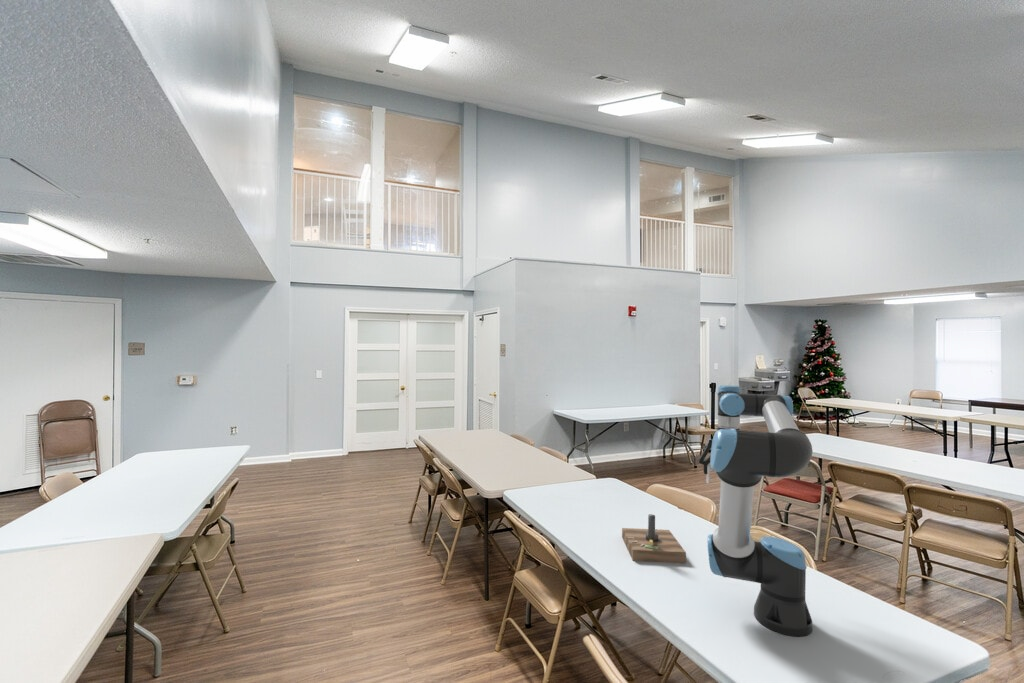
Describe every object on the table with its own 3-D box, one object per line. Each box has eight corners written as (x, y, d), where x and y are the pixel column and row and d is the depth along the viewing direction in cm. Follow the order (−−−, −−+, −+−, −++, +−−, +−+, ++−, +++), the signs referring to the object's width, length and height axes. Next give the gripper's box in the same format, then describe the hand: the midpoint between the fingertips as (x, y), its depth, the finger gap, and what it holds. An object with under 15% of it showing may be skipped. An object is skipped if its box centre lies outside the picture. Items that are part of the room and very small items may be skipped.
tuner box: (685, 562, 174) (685, 551, 174) (632, 560, 175) (632, 549, 175) (669, 539, 196) (669, 529, 196) (621, 537, 197) (622, 527, 197)
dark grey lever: (658, 537, 187) (658, 509, 187) (657, 549, 176) (658, 519, 176) (645, 535, 189) (646, 507, 189) (644, 547, 177) (644, 517, 177)
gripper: (764, 428, 168) (763, 486, 167) (691, 423, 176) (691, 478, 175) (768, 431, 161) (768, 491, 160) (693, 426, 169) (692, 484, 168)
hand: (727, 485), depth 168 cm, fingers open, 13 cm apart
